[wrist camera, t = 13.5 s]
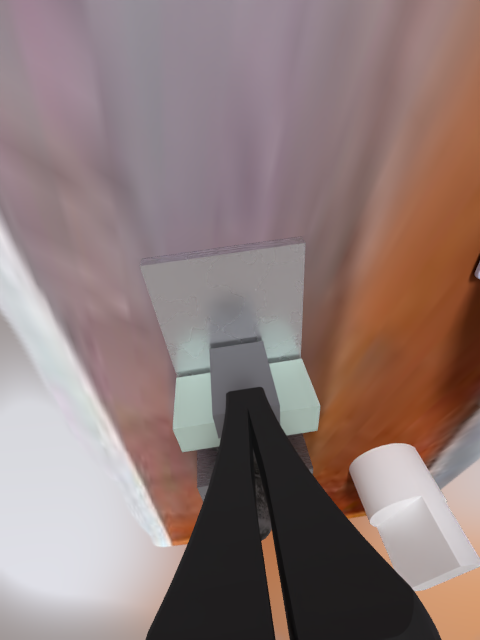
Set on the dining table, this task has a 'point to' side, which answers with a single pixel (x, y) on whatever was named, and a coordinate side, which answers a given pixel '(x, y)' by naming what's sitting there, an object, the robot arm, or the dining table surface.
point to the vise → (229, 310)
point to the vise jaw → (235, 374)
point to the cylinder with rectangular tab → (411, 516)
